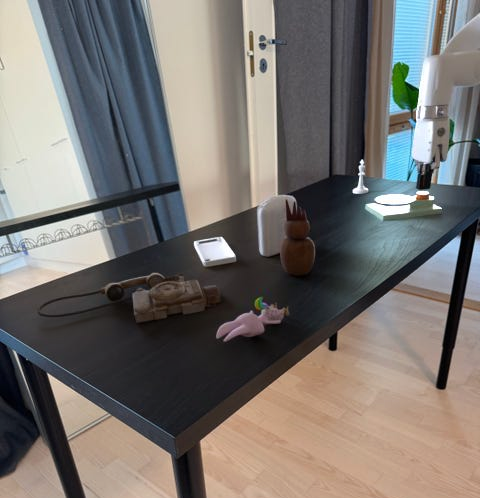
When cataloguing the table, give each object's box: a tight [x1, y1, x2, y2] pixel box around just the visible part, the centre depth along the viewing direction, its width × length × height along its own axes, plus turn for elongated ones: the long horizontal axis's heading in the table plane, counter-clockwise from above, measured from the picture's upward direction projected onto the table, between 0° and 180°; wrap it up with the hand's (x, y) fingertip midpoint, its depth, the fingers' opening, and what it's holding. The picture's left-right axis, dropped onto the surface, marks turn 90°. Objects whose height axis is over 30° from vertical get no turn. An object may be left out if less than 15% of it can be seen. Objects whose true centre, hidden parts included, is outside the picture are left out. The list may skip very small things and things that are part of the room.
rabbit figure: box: [215, 296, 290, 343], centre depth 65 cm, size 6×6×15 cm
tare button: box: [415, 190, 430, 200], centre depth 113 cm, size 3×3×2 cm
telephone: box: [37, 272, 222, 324], centre depth 77 cm, size 15×33×4 cm, turn 105°
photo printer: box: [256, 194, 298, 257], centre depth 94 cm, size 10×4×12 cm, turn 132°
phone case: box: [193, 236, 237, 268], centre depth 98 cm, size 7×1×15 cm
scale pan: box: [374, 194, 414, 207], centre depth 112 cm, size 10×10×1 cm
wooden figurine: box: [279, 199, 316, 277], centre depth 81 cm, size 7×6×15 cm
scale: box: [364, 195, 443, 222], centre depth 114 cm, size 16×12×3 cm
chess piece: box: [352, 159, 369, 195], centre depth 133 cm, size 5×5×10 cm
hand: (423, 188), depth 112 cm, fingers closed
